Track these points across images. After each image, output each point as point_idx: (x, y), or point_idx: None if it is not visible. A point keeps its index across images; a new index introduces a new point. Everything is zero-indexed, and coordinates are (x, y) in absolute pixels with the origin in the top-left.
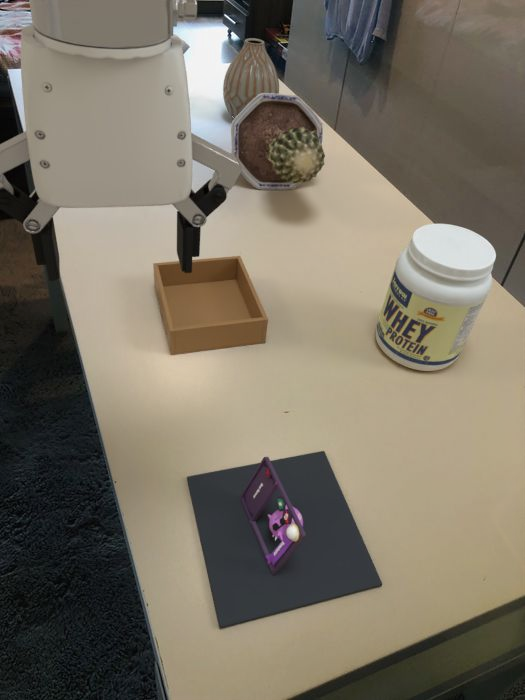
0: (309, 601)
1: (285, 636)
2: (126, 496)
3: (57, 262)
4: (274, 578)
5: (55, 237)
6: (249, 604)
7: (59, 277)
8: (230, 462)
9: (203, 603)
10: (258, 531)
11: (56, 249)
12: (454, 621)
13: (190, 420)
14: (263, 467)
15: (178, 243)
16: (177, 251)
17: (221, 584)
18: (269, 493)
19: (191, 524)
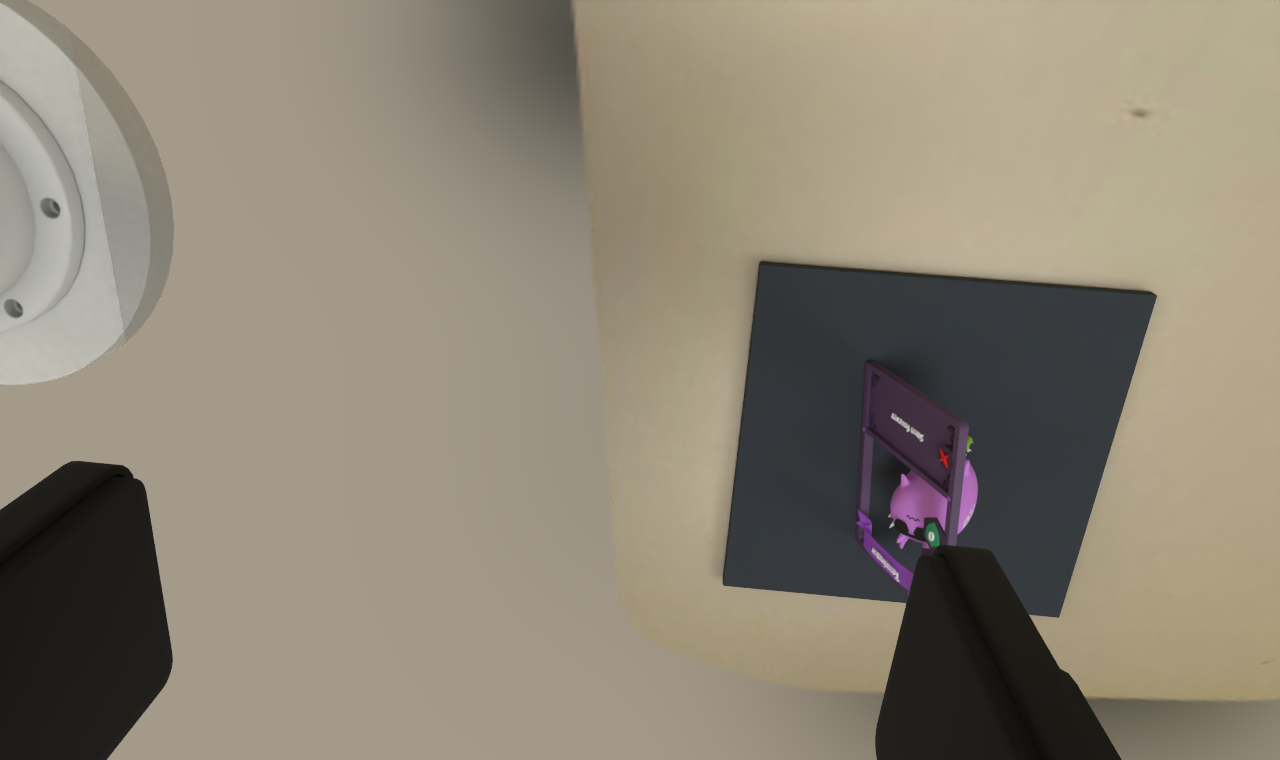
0: (901, 600)
1: (830, 623)
2: (603, 264)
3: (113, 694)
4: (857, 544)
5: (19, 628)
6: (789, 570)
7: (169, 662)
8: (888, 244)
9: (708, 532)
10: (869, 457)
11: (70, 658)
12: (1141, 697)
13: (833, 61)
14: (944, 422)
15: (934, 694)
16: (920, 587)
17: (751, 523)
18: (924, 479)
19: (733, 378)
